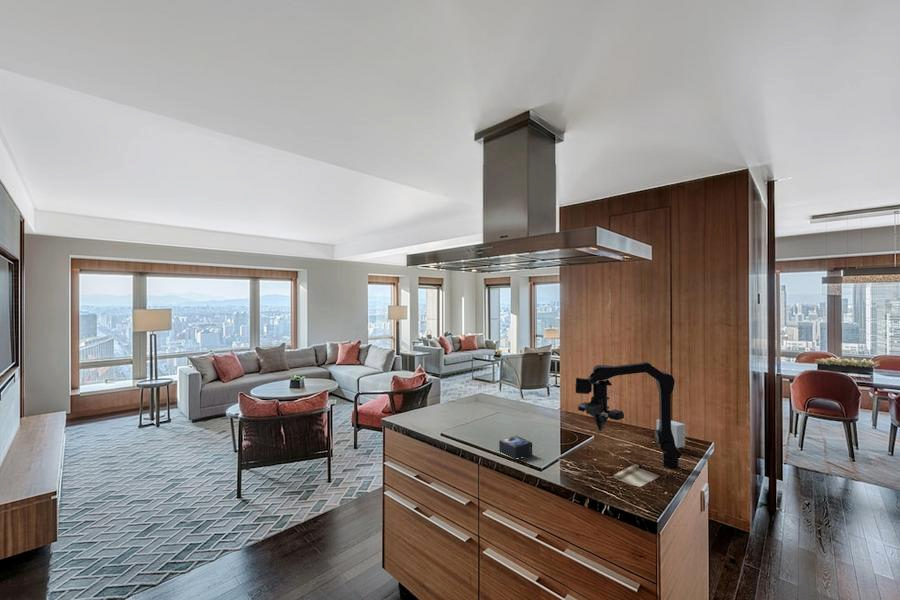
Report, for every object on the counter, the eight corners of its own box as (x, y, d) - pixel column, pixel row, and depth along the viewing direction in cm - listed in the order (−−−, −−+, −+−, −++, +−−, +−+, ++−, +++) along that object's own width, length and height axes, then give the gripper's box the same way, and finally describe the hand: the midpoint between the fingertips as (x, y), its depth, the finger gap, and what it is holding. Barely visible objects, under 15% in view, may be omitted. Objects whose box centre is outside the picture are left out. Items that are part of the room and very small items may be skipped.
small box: (532, 441, 165) (515, 447, 160) (533, 456, 165) (515, 462, 160) (515, 434, 174) (498, 439, 168) (516, 448, 174) (499, 454, 168)
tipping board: (635, 467, 154) (635, 464, 154) (659, 476, 146) (659, 472, 146) (613, 478, 145) (613, 474, 145) (638, 489, 137) (638, 484, 137)
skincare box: (685, 446, 176) (685, 423, 176) (677, 448, 173) (677, 425, 173) (664, 438, 186) (664, 417, 186) (655, 441, 183) (655, 419, 183)
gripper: (570, 393, 166) (570, 428, 166) (610, 402, 151) (610, 441, 151) (585, 389, 173) (585, 423, 173) (624, 397, 158) (624, 434, 158)
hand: (600, 430), depth 164 cm, fingers closed
